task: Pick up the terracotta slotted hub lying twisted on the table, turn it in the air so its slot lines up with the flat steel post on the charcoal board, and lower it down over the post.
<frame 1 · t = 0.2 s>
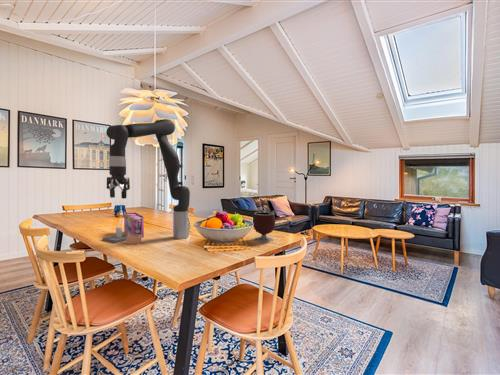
hand: (118, 198, 138), 29 cm above the table, tool pointing down, fingers open, 8 cm apart
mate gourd: (264, 240, 175), on the table
hub: (134, 242, 162), on the table
gum box: (133, 235, 183), on the table, touching board
board: (118, 239, 169), on the table
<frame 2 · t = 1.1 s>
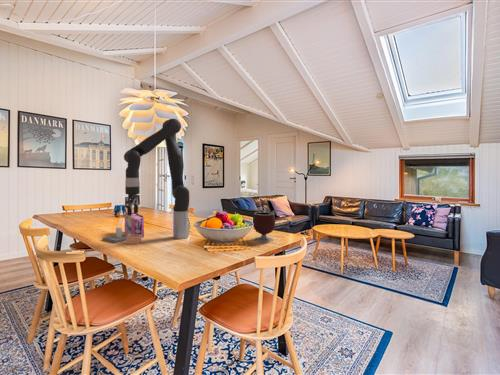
hand: (132, 213, 157), 18 cm above the table, tool pointing down, fingers open, 8 cm apart
nothing on the table moved.
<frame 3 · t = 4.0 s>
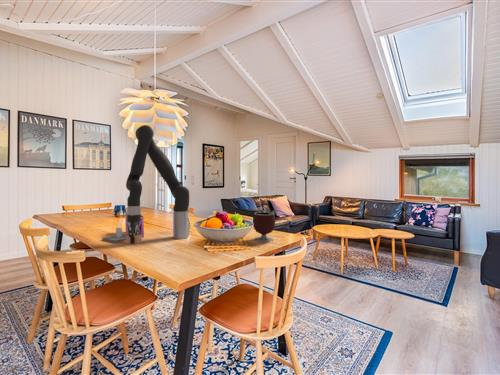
hand: (133, 241, 162), 0 cm above the table, tool pointing down, fingers closed on hub, 5 cm apart
hub: (134, 242, 162), on the table, touching gripper
everything else where it was.
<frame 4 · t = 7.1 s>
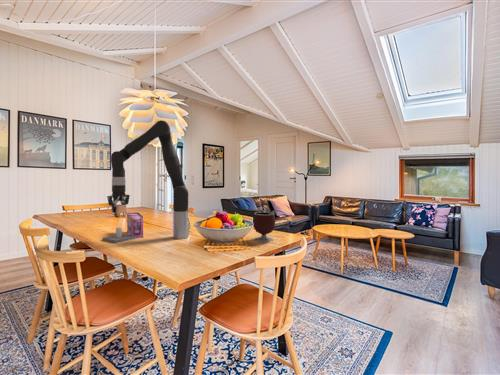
hand: (118, 211, 168), 17 cm above the table, tool pointing down, fingers closed on hub, 5 cm apart
hub: (118, 212, 168), point 17 cm above the table, touching gripper
everything else where it was.
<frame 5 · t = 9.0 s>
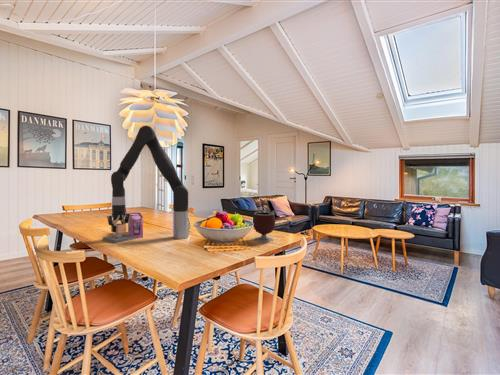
hand: (118, 231, 169), 5 cm above the table, tool pointing down, fingers closed on hub, 5 cm apart
hub: (118, 231, 169), point 5 cm above the table, touching gripper
when the fingers open (3 cm above the table, at t = 10.4 s): hub stays where it is, resting on board.
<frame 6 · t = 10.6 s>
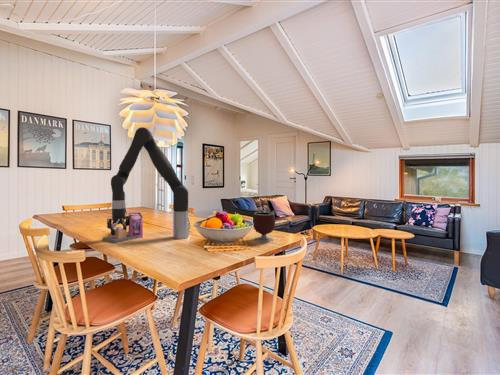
hand: (118, 234, 169), 3 cm above the table, tool pointing down, fingers open, 7 cm apart
hub: (118, 237, 169), point 1 cm above the table, touching board
gum box: (135, 235, 184), on the table, touching board, hand
everything else where it was.
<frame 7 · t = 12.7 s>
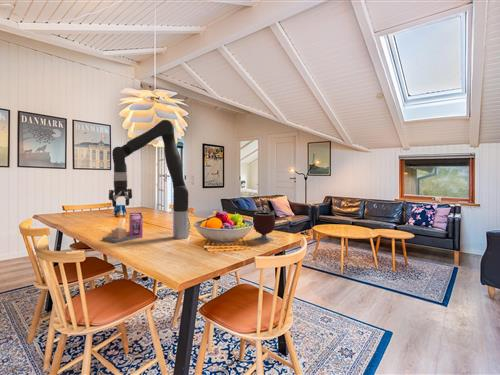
hand: (120, 206, 168), 21 cm above the table, tool pointing down, fingers open, 8 cm apart
gum box: (135, 235, 184), on the table, touching board
everything else where it was.
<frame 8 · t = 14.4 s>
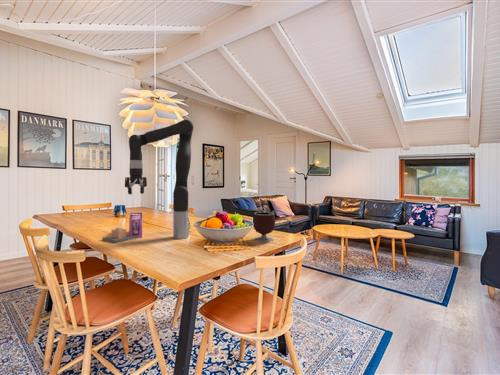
hand: (136, 193, 170), 28 cm above the table, tool pointing down, fingers open, 8 cm apart
gum box: (136, 235, 184), on the table
everything else where it was.
at the end: hub 0.0 cm off-centre on the board, point 1.5 cm above the board's base; the gripper is holding nothing; hub tilted 0° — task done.
